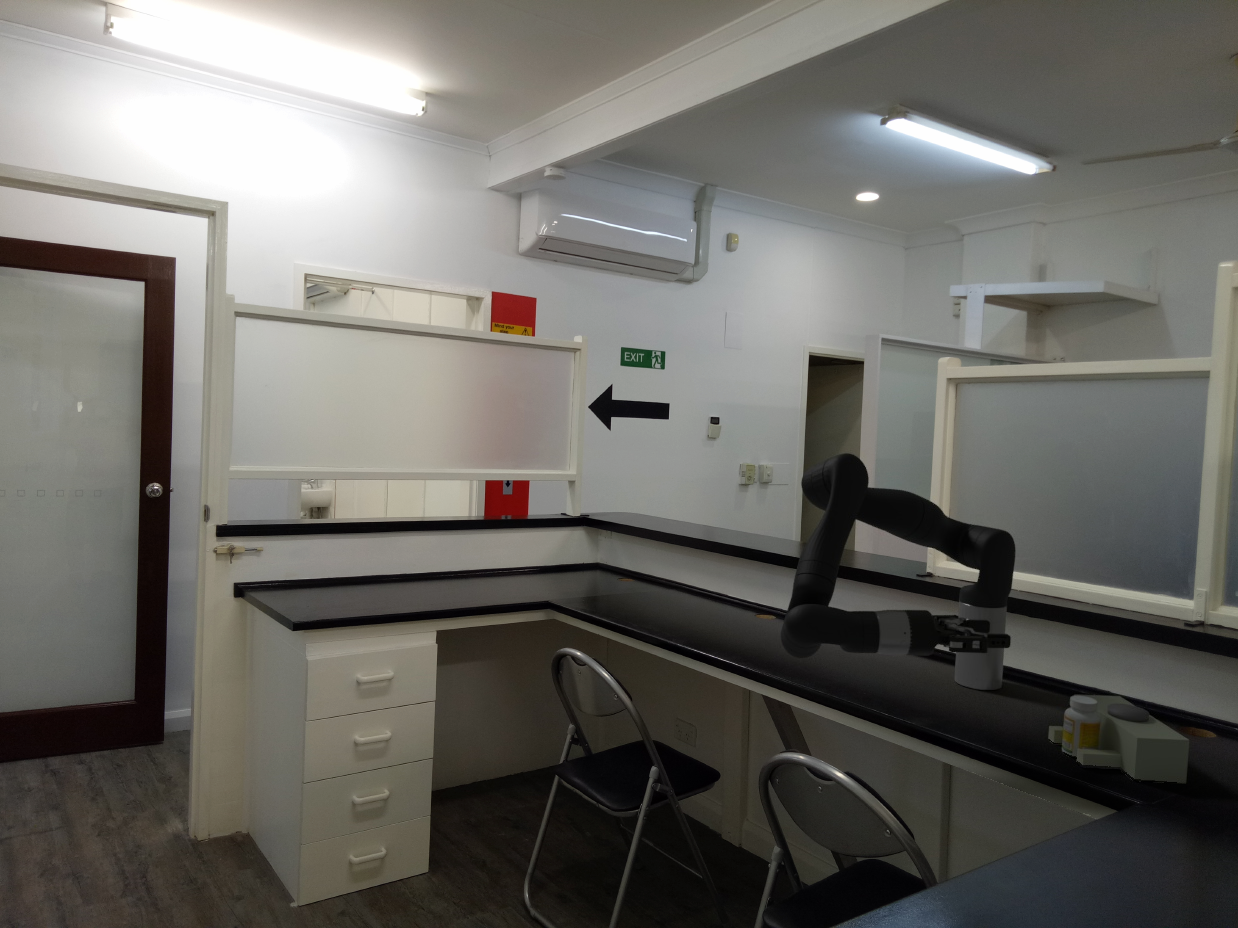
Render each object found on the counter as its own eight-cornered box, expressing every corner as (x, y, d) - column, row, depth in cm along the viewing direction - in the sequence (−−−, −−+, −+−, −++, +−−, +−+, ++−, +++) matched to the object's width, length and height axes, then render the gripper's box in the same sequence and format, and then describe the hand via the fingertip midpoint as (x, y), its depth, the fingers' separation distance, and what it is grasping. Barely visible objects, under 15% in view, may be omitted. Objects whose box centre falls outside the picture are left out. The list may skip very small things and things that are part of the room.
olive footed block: (1038, 730, 155) (1040, 687, 155) (1116, 733, 155) (1120, 690, 154) (1095, 779, 135) (1098, 729, 135) (1185, 783, 135) (1189, 733, 134)
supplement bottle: (1057, 754, 145) (1061, 698, 144) (1067, 745, 149) (1070, 691, 148) (1092, 764, 141) (1096, 707, 140) (1101, 755, 145) (1105, 699, 144)
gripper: (915, 621, 137) (1018, 623, 137) (890, 600, 151) (983, 601, 151) (914, 667, 138) (1016, 668, 137) (889, 641, 152) (981, 642, 152)
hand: (999, 633), depth 144 cm, fingers open, 8 cm apart
